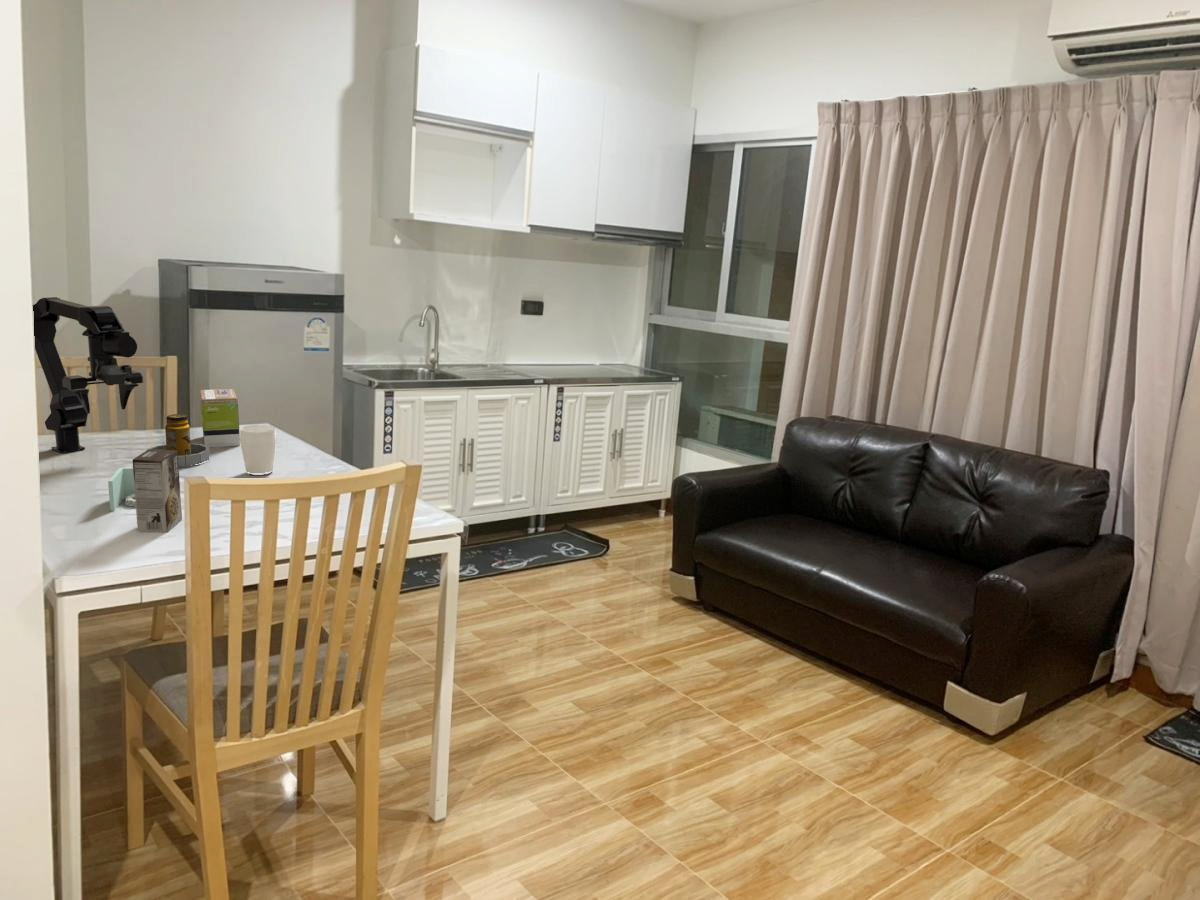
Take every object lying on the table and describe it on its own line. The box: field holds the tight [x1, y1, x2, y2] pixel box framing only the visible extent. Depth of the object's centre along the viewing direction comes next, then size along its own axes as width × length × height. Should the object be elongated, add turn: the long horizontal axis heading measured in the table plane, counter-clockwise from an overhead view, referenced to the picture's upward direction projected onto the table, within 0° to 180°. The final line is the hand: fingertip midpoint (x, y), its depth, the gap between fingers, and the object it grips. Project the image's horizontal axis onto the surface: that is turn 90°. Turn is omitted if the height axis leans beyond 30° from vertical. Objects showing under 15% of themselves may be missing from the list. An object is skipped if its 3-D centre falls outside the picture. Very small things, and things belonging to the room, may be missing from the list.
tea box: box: [199, 388, 241, 448], centre depth 273 cm, size 15×10×15 cm
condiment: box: [164, 413, 191, 456], centre depth 249 cm, size 7×8×12 cm
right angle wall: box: [107, 466, 136, 512], centre depth 214 cm, size 12×12×8 cm
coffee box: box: [132, 448, 183, 534], centre depth 197 cm, size 9×6×16 cm
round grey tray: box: [146, 442, 210, 468], centre depth 251 cm, size 16×16×3 cm
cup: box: [239, 424, 277, 473], centre depth 242 cm, size 9×9×12 cm
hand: (106, 411), depth 247 cm, fingers open, 9 cm apart
